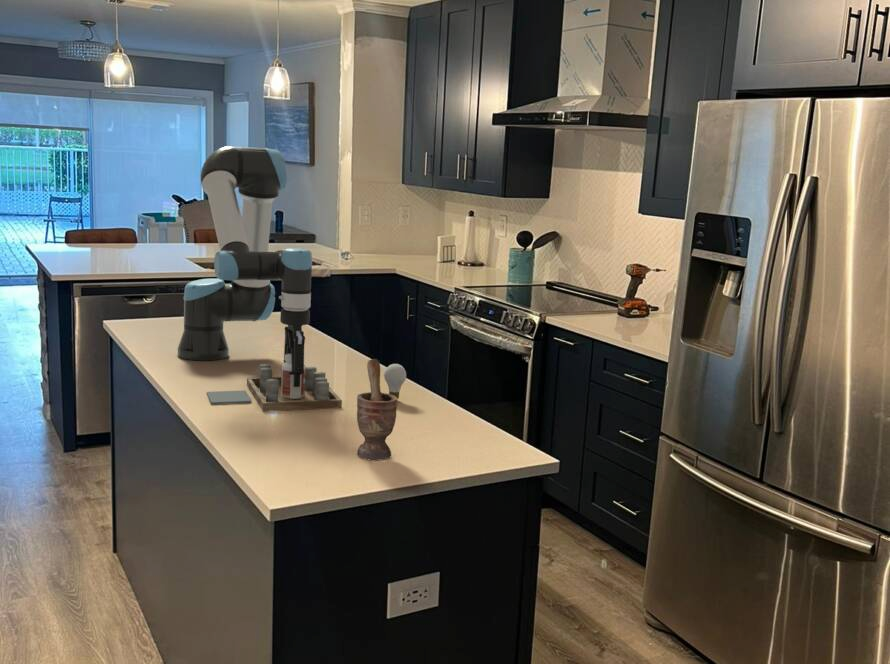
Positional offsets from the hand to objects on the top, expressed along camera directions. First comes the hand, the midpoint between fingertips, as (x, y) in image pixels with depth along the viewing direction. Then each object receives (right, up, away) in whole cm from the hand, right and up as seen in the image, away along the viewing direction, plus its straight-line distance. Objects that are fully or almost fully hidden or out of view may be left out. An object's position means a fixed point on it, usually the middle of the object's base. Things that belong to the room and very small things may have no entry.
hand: (292, 394), depth 231 cm
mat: (-15, -1, -6) cm, 17 cm away
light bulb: (+27, -2, +2) cm, 27 cm away
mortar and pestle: (+24, -10, -40) cm, 48 cm away
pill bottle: (0, -1, 0) cm, 1 cm away
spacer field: (0, 0, 0) cm, 0 cm away
